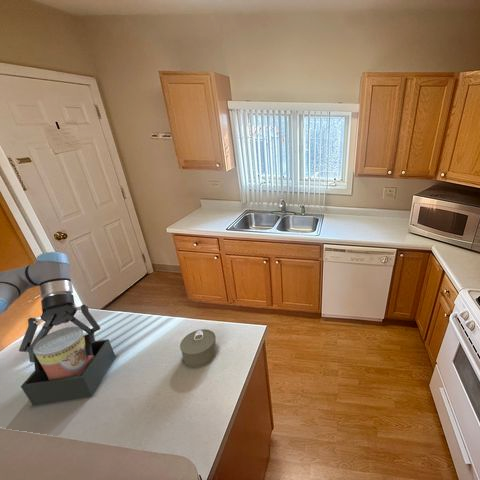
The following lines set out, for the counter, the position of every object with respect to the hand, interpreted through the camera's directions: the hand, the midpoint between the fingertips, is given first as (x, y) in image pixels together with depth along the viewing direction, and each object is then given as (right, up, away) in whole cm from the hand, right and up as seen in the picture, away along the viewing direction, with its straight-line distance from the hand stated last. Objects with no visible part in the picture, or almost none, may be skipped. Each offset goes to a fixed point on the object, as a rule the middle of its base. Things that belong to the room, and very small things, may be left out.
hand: (65, 363), depth 79 cm
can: (+34, -5, +17) cm, 39 cm away
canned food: (-2, -3, +4) cm, 6 cm away
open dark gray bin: (-2, -9, +6) cm, 11 cm away
